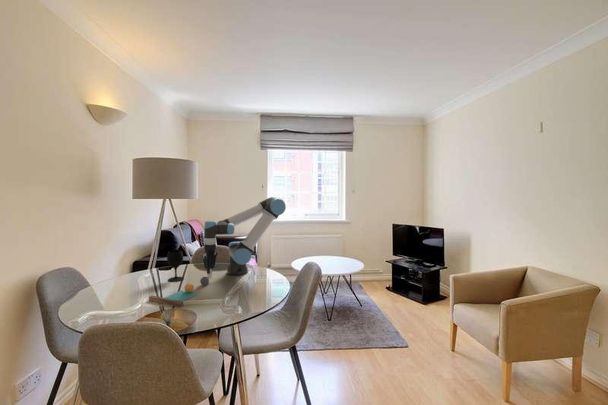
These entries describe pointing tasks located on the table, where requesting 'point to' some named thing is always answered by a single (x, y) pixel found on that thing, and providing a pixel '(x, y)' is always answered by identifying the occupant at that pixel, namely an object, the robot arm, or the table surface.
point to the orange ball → (188, 288)
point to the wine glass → (175, 263)
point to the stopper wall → (166, 301)
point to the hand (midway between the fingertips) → (209, 278)
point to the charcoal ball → (204, 281)
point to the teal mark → (181, 295)
